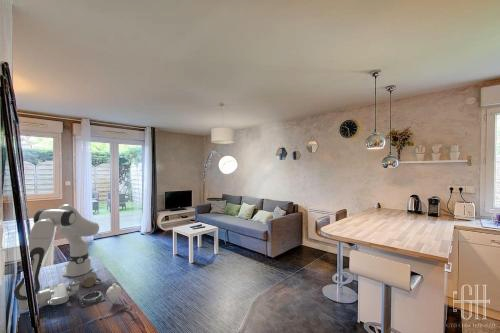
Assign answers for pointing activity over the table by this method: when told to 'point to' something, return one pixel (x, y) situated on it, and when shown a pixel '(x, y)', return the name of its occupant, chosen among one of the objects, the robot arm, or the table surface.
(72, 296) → the lidded canister
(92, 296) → the duct flange
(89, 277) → the ceramic mug
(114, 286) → the spinning top
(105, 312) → the table surface
